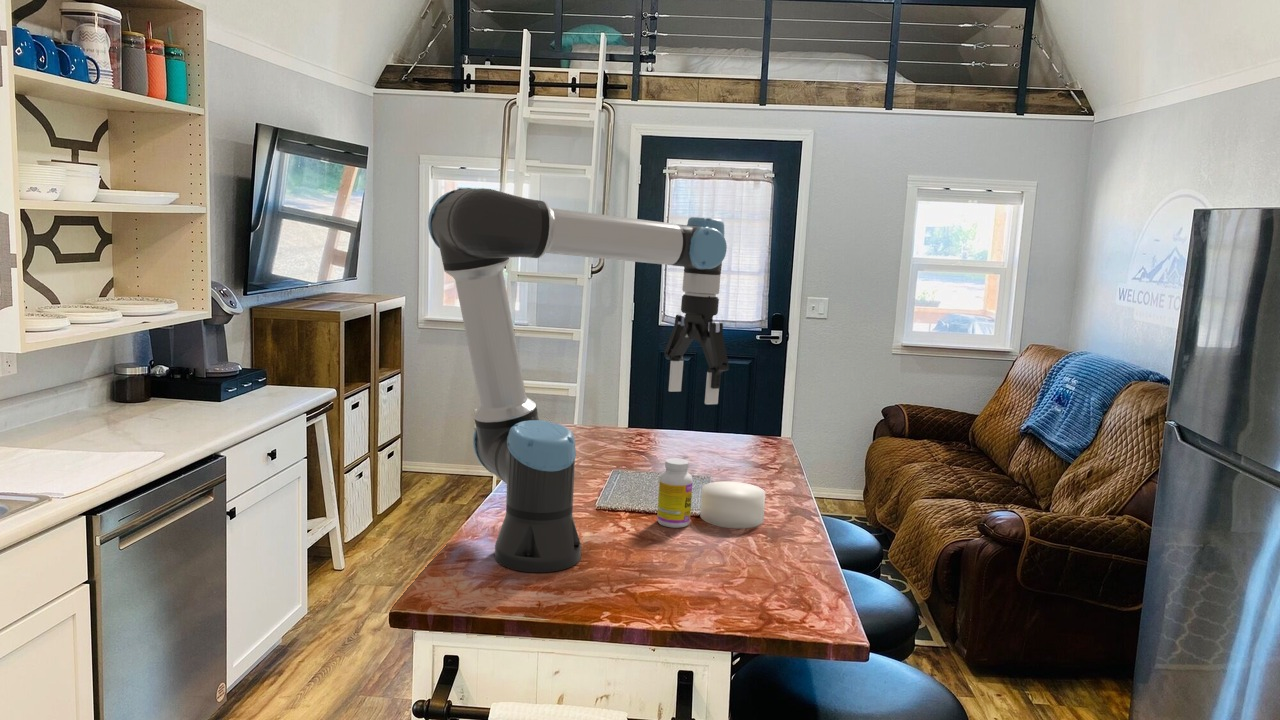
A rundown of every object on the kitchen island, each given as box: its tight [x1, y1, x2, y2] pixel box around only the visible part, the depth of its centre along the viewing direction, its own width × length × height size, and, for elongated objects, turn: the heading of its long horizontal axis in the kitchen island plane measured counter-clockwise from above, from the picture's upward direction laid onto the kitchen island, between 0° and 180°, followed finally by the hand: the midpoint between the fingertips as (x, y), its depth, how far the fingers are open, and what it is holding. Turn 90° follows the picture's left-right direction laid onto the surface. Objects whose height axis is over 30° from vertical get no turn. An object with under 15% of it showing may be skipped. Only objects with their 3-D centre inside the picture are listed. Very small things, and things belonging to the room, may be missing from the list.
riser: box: [699, 480, 766, 529], centre depth 189 cm, size 13×13×6 cm
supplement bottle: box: [656, 457, 694, 529], centre depth 183 cm, size 7×7×13 cm
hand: (692, 397), depth 189 cm, fingers open, 13 cm apart
